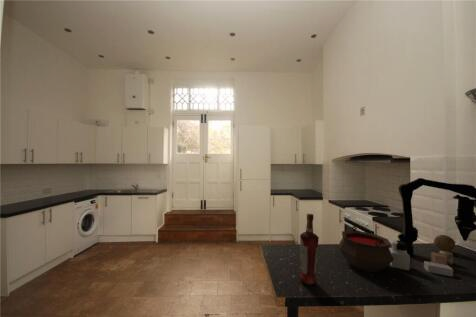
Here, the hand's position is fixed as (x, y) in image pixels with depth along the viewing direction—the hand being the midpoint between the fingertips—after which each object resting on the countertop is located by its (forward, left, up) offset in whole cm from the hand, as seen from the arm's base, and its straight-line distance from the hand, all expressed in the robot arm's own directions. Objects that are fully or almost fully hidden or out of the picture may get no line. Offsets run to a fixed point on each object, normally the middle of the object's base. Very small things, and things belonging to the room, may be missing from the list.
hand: (463, 238), depth 108 cm
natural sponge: (-1, +17, -14) cm, 22 cm away
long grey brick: (-16, -16, -14) cm, 27 cm away
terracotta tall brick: (-13, -9, -14) cm, 21 cm away
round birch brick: (-7, -1, -14) cm, 16 cm away
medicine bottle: (-32, -19, -14) cm, 40 cm away
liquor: (-72, -56, -14) cm, 92 cm away
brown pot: (-48, -27, -14) cm, 57 cm away
